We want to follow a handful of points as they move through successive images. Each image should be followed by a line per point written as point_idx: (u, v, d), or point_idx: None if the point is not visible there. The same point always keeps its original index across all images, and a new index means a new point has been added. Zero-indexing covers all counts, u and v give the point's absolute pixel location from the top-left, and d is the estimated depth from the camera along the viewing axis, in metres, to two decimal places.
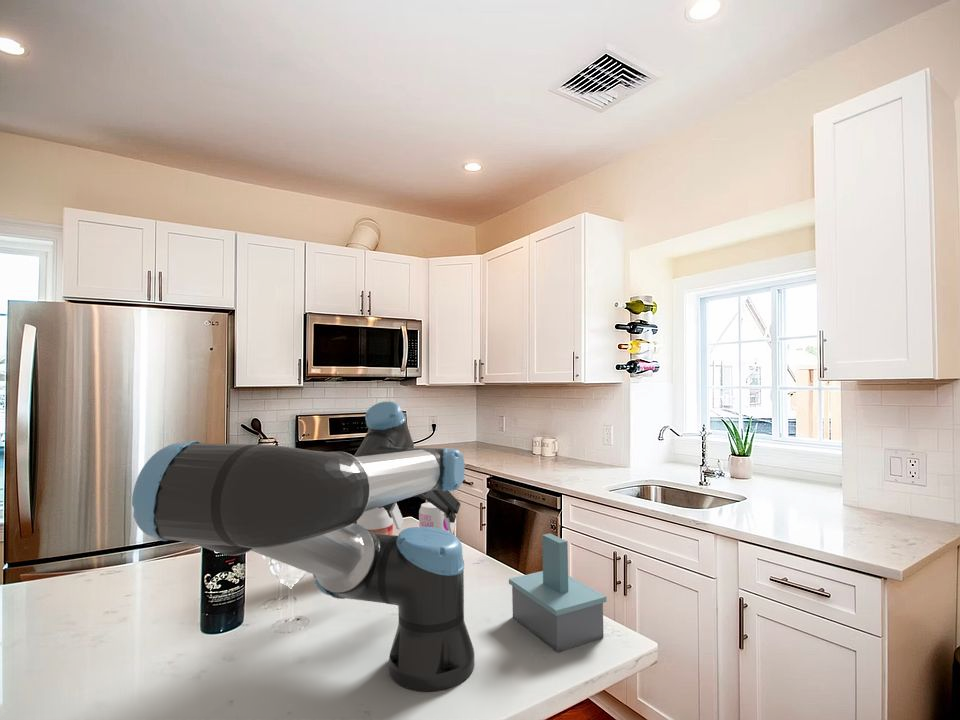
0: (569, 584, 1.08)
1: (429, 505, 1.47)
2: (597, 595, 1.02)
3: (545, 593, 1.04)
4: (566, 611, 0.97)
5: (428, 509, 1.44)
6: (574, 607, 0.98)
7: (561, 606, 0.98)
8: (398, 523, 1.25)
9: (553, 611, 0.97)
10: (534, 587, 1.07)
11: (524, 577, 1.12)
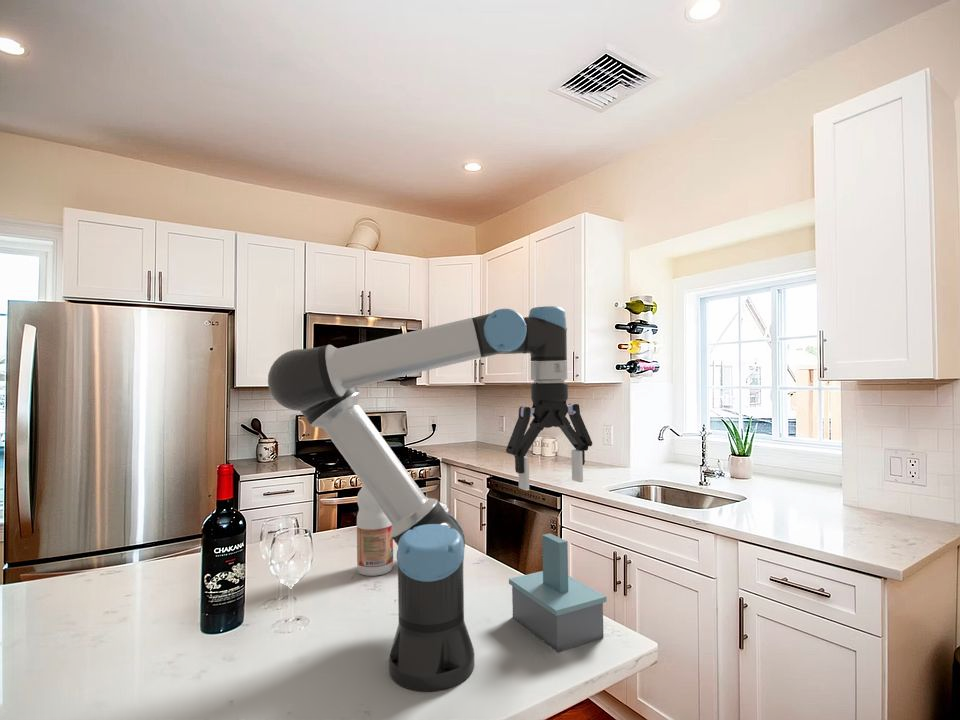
0: (569, 584, 1.08)
1: None
2: (597, 595, 1.02)
3: (545, 593, 1.04)
4: (566, 611, 0.97)
5: None
6: (574, 607, 0.98)
7: (561, 606, 0.98)
8: (573, 472, 1.11)
9: (553, 611, 0.97)
10: (534, 587, 1.07)
11: (524, 577, 1.12)
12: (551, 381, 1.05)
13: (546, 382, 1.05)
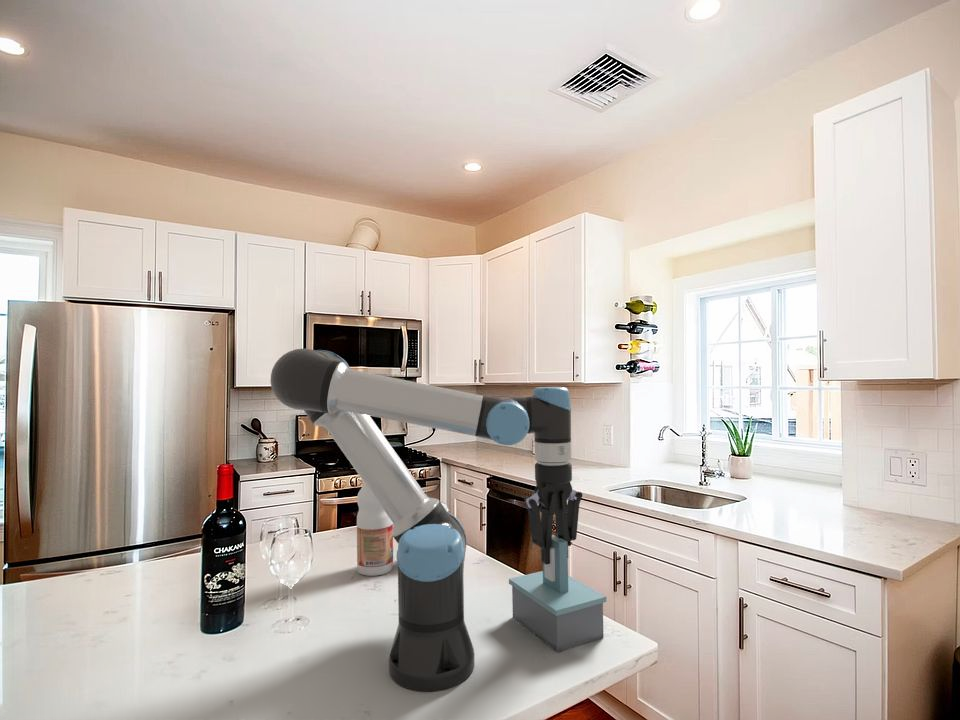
0: (569, 584, 1.08)
1: None
2: (597, 595, 1.02)
3: (545, 593, 1.04)
4: (566, 611, 0.97)
5: None
6: (574, 607, 0.98)
7: (561, 606, 0.98)
8: None
9: (553, 611, 0.97)
10: (534, 587, 1.07)
11: (524, 577, 1.12)
12: (555, 464, 1.04)
13: (550, 464, 1.04)
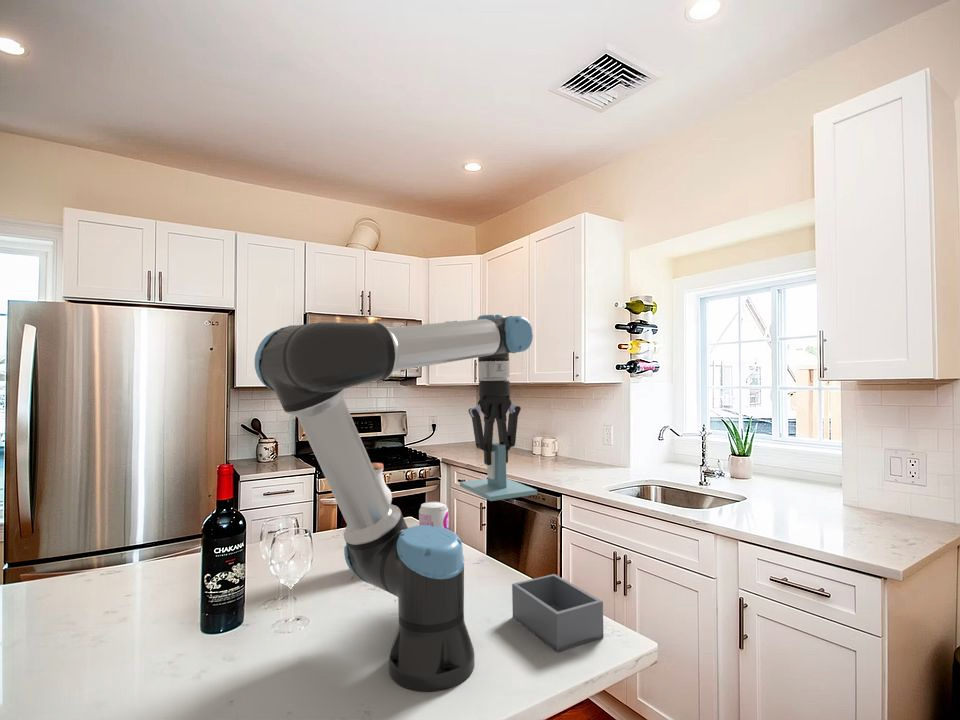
0: (509, 484, 1.26)
1: (429, 505, 1.47)
2: (529, 489, 1.21)
3: (486, 488, 1.22)
4: (500, 498, 1.16)
5: (428, 509, 1.44)
6: (507, 496, 1.17)
7: (496, 494, 1.16)
8: None
9: (488, 498, 1.16)
10: (478, 485, 1.26)
11: (473, 481, 1.31)
12: (493, 379, 1.22)
13: (489, 380, 1.23)
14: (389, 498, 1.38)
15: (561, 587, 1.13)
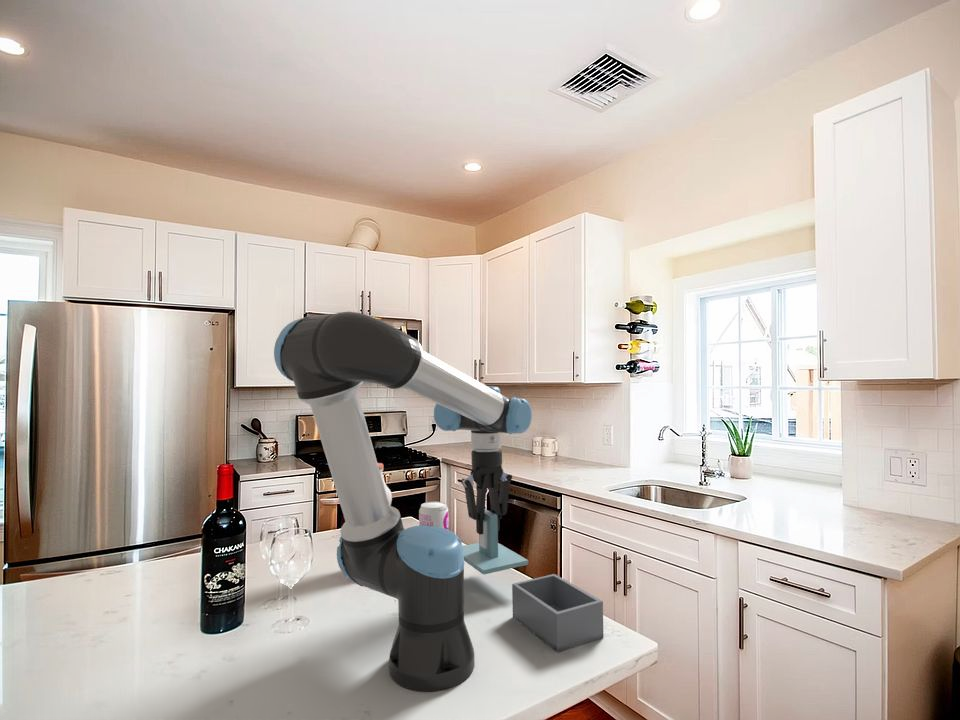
0: (501, 551, 1.29)
1: (429, 505, 1.47)
2: (521, 559, 1.23)
3: (478, 558, 1.25)
4: (492, 571, 1.18)
5: (428, 509, 1.44)
6: (499, 568, 1.19)
7: (488, 567, 1.19)
8: None
9: (481, 571, 1.18)
10: (470, 553, 1.28)
11: (464, 546, 1.33)
12: (486, 450, 1.25)
13: (482, 451, 1.25)
14: (389, 498, 1.38)
15: (561, 587, 1.13)
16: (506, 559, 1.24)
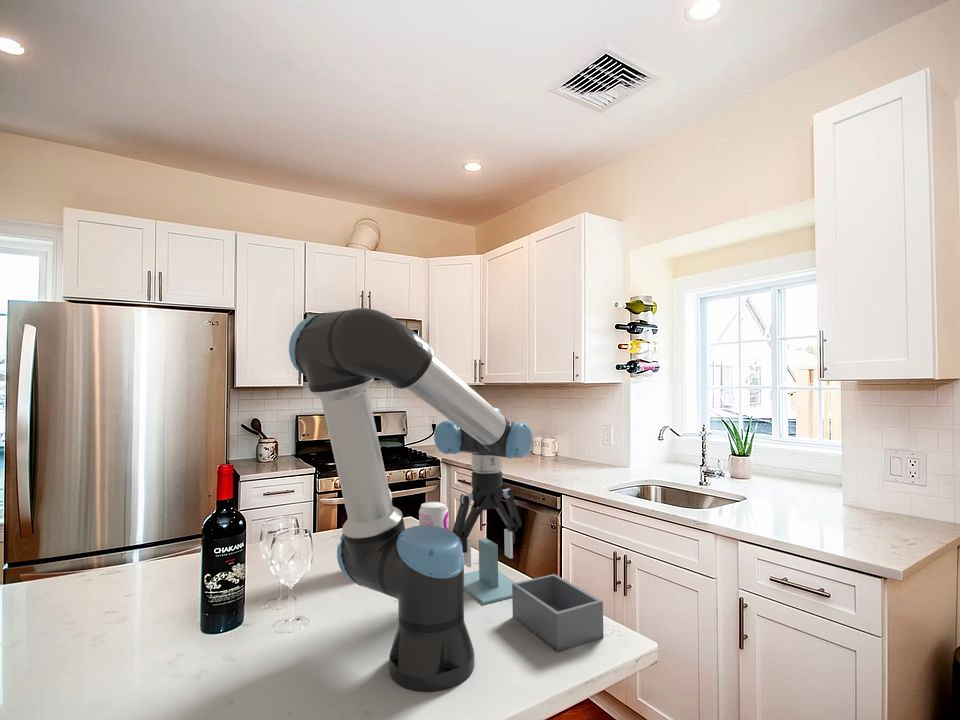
0: (501, 580, 1.29)
1: (429, 505, 1.47)
2: None
3: (478, 588, 1.24)
4: (492, 602, 1.18)
5: (428, 509, 1.44)
6: (499, 599, 1.19)
7: (488, 598, 1.19)
8: (505, 549, 1.31)
9: (481, 602, 1.18)
10: (470, 583, 1.28)
11: (464, 575, 1.33)
12: (487, 472, 1.25)
13: (482, 473, 1.25)
14: None
15: (561, 587, 1.13)
16: (506, 589, 1.23)
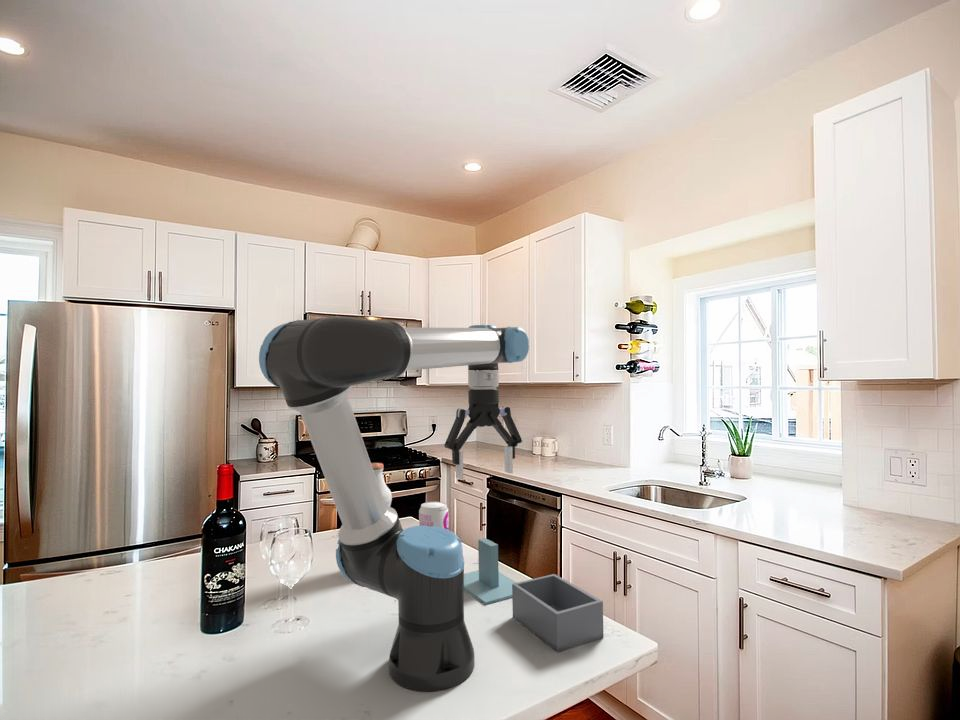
0: (500, 580, 1.29)
1: (429, 505, 1.47)
2: None
3: (479, 588, 1.24)
4: (494, 602, 1.18)
5: (428, 509, 1.44)
6: (501, 599, 1.19)
7: (490, 598, 1.19)
8: (505, 465, 1.31)
9: None
10: (470, 583, 1.27)
11: None
12: (483, 388, 1.25)
13: (479, 388, 1.25)
14: (389, 498, 1.38)
15: (561, 587, 1.13)
16: (507, 589, 1.24)
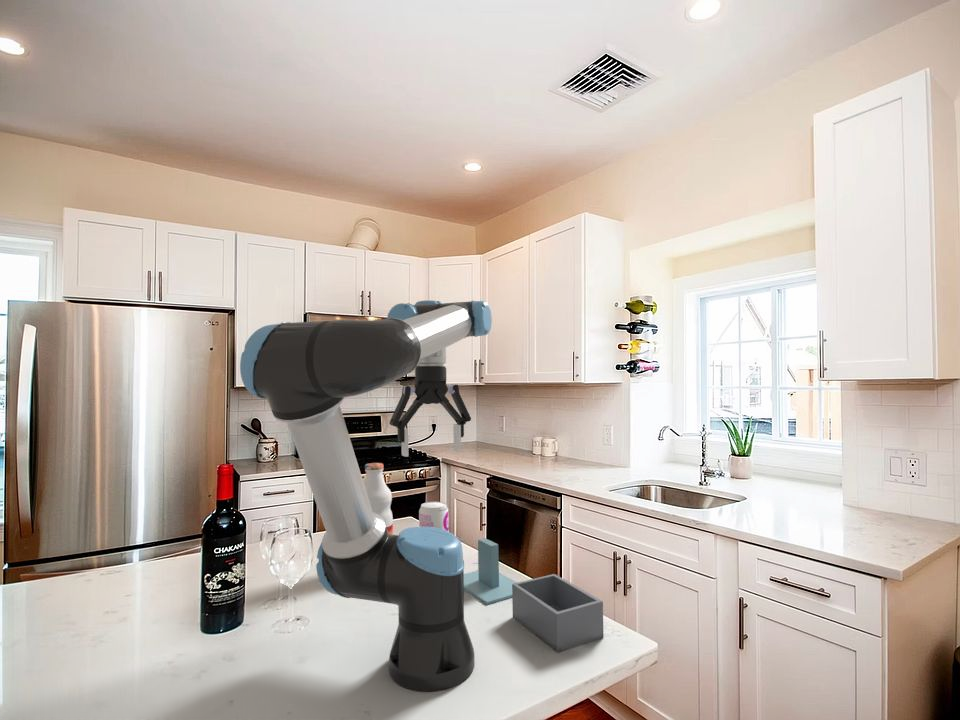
0: (500, 580, 1.29)
1: (429, 505, 1.47)
2: None
3: (479, 588, 1.24)
4: None
5: (428, 509, 1.44)
6: (502, 599, 1.19)
7: (492, 598, 1.19)
8: (454, 443, 1.30)
9: (485, 602, 1.18)
10: (470, 583, 1.27)
11: None
12: (429, 364, 1.23)
13: (425, 365, 1.23)
14: (389, 498, 1.38)
15: (561, 587, 1.13)
16: (507, 589, 1.24)
